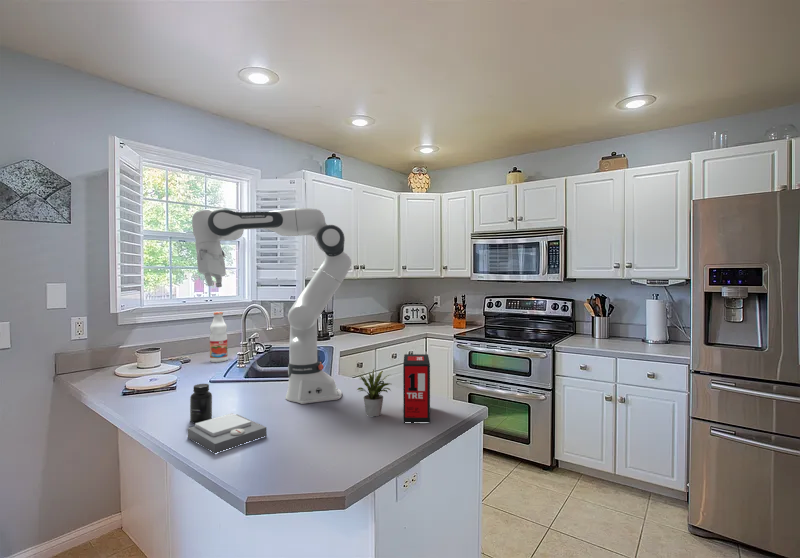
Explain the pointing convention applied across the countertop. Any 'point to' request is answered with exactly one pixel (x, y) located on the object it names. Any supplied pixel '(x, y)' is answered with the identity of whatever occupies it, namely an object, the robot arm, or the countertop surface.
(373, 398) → the house plant
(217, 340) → the fruit juice
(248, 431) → the kitchen scale
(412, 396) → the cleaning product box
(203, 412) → the supplement bottle
